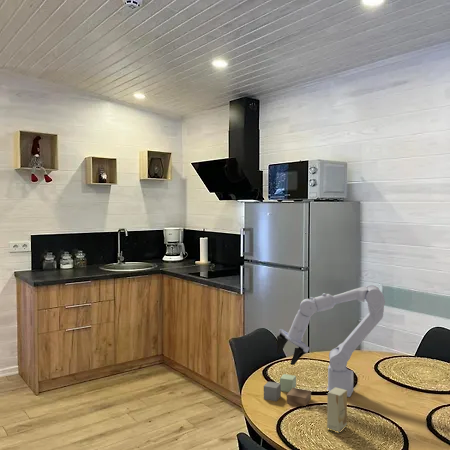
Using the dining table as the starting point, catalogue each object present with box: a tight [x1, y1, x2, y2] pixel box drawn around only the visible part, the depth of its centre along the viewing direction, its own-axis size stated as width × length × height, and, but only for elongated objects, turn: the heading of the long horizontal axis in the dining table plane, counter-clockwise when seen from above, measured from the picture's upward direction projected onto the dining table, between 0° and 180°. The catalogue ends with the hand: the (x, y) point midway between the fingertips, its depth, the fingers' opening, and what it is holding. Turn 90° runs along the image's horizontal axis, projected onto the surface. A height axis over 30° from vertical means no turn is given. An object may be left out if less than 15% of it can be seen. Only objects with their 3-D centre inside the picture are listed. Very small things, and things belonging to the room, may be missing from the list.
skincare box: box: [326, 387, 348, 432], centre depth 147 cm, size 6×4×12 cm
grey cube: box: [263, 381, 282, 402], centre depth 171 cm, size 5×5×5 cm
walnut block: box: [286, 387, 312, 407], centre depth 168 cm, size 7×7×4 cm
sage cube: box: [279, 373, 297, 393], centre depth 179 cm, size 5×5×5 cm
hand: (285, 359), depth 181 cm, fingers open, 7 cm apart
